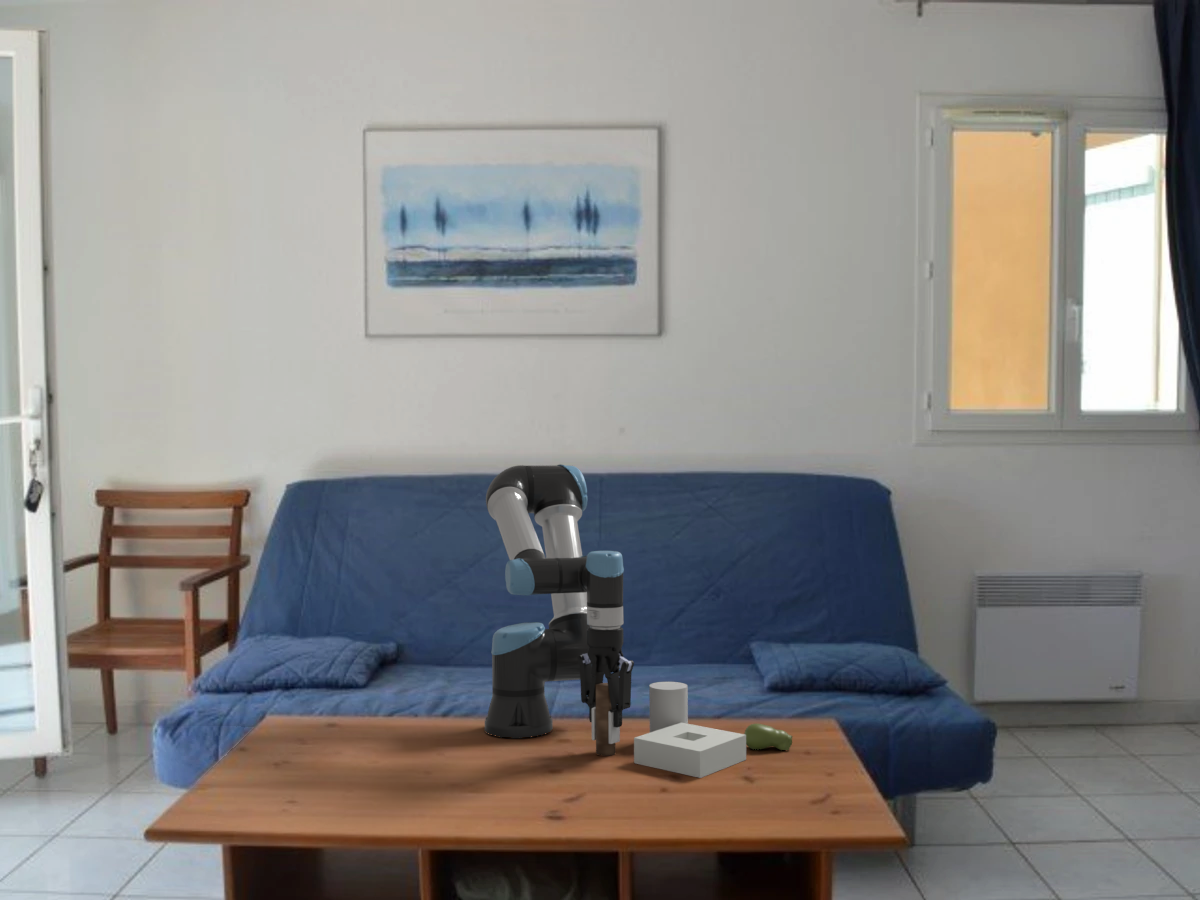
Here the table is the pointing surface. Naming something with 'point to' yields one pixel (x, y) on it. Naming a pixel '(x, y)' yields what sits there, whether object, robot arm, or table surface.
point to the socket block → (690, 749)
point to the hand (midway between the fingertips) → (605, 740)
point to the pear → (767, 737)
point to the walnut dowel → (603, 721)
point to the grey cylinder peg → (668, 704)
